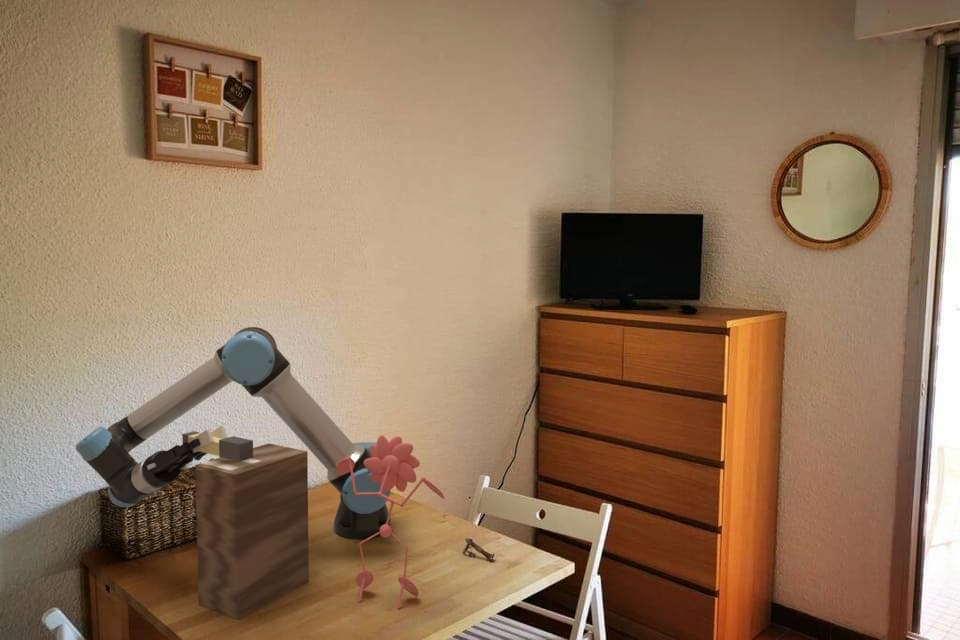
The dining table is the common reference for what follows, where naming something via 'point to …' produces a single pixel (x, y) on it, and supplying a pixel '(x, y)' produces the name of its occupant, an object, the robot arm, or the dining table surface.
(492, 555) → the wooden post with brackets
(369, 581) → the figurine
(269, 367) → the robot arm
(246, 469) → the tall wood-grain block
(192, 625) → the dining table surface
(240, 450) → the marker
